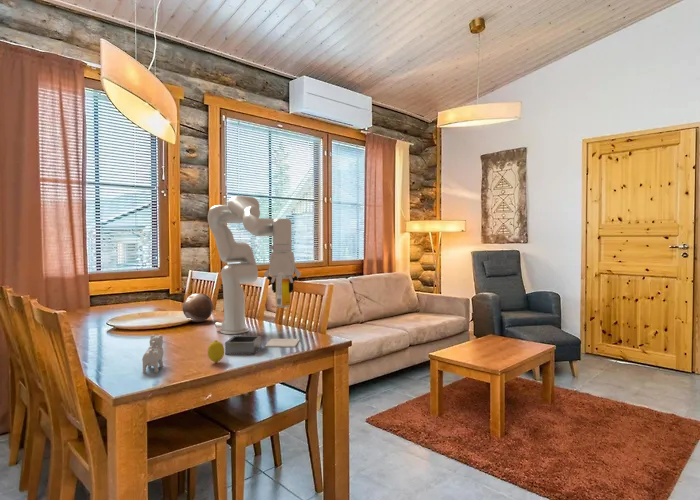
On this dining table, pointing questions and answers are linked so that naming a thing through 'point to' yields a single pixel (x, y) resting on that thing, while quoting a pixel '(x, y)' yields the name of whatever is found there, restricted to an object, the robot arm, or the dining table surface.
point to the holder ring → (243, 345)
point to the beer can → (282, 291)
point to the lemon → (216, 351)
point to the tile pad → (282, 343)
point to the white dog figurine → (154, 354)
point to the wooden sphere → (198, 307)
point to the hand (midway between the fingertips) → (282, 291)
